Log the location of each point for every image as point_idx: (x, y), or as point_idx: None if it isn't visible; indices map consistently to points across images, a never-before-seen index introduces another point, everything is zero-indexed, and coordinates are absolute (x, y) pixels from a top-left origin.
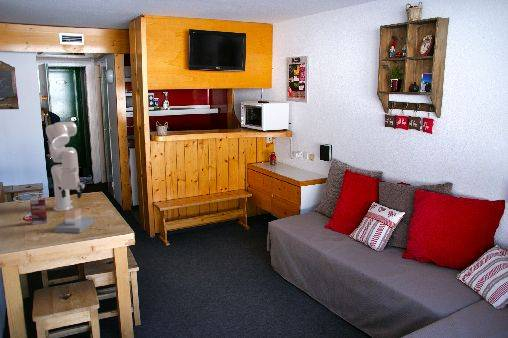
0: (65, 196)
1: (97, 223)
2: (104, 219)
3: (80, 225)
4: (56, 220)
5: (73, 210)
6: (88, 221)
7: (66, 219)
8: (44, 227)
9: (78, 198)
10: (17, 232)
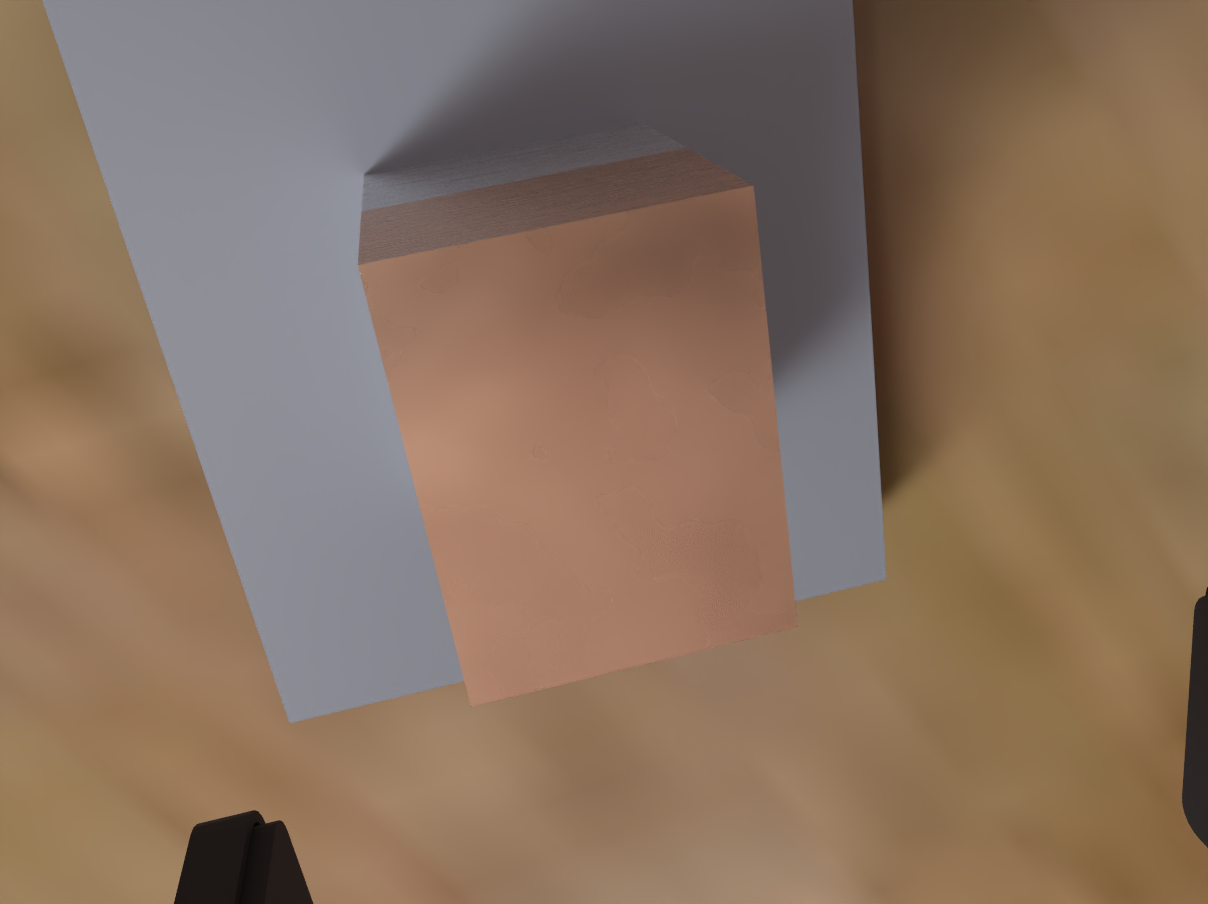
0: (1190, 785)
1: (193, 674)
2: None
3: (191, 185)
4: (1155, 532)
5: (563, 455)
6: (236, 526)
7: (643, 149)
8: (1186, 81)
9: (220, 821)
10: None
